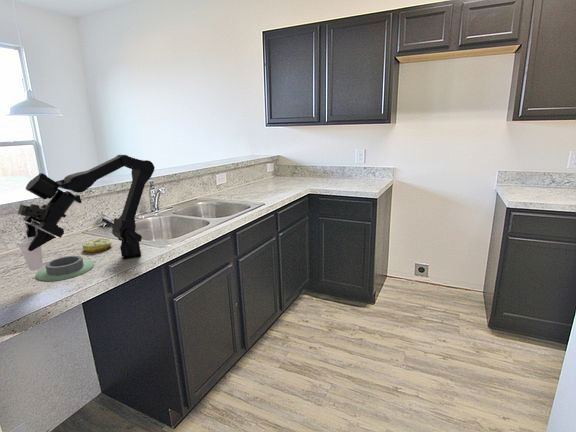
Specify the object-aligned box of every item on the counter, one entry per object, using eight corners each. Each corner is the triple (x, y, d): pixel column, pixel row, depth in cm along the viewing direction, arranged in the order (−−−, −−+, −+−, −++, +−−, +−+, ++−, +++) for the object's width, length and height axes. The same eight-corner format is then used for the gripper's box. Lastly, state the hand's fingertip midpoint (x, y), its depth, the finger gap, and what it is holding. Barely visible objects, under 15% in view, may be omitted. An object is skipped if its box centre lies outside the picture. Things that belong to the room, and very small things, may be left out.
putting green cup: (97, 257, 134) (95, 249, 133) (90, 275, 118) (88, 266, 117) (43, 265, 127) (41, 257, 126) (28, 285, 111) (26, 275, 110)
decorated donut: (117, 246, 147) (116, 237, 146) (96, 254, 137) (94, 246, 136) (100, 243, 151) (98, 235, 150) (78, 251, 141) (76, 243, 140)
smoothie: (19, 271, 107) (7, 229, 103) (38, 263, 113) (27, 223, 109) (34, 272, 106) (23, 230, 102) (53, 264, 112) (43, 224, 108)
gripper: (23, 190, 111) (-10, 231, 106) (43, 196, 100) (7, 242, 95) (55, 208, 120) (26, 247, 114) (77, 215, 108) (46, 259, 103)
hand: (25, 248), depth 106 cm, fingers closed on smoothie, 6 cm apart
